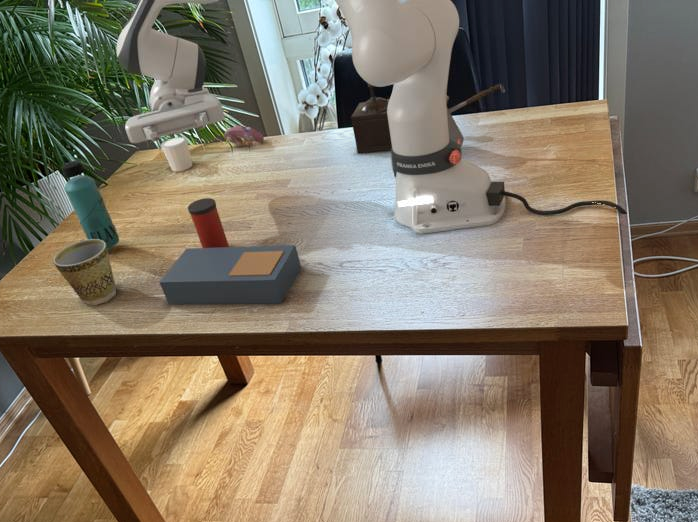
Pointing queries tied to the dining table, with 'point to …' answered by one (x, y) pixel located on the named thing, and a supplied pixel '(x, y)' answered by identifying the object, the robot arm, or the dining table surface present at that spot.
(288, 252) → the platform
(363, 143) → the manual coffee grinder
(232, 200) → the dining table surface
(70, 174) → the beverage bottle
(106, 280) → the ceramic cup
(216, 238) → the red canister
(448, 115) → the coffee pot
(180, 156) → the white short cylinder
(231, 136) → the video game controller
